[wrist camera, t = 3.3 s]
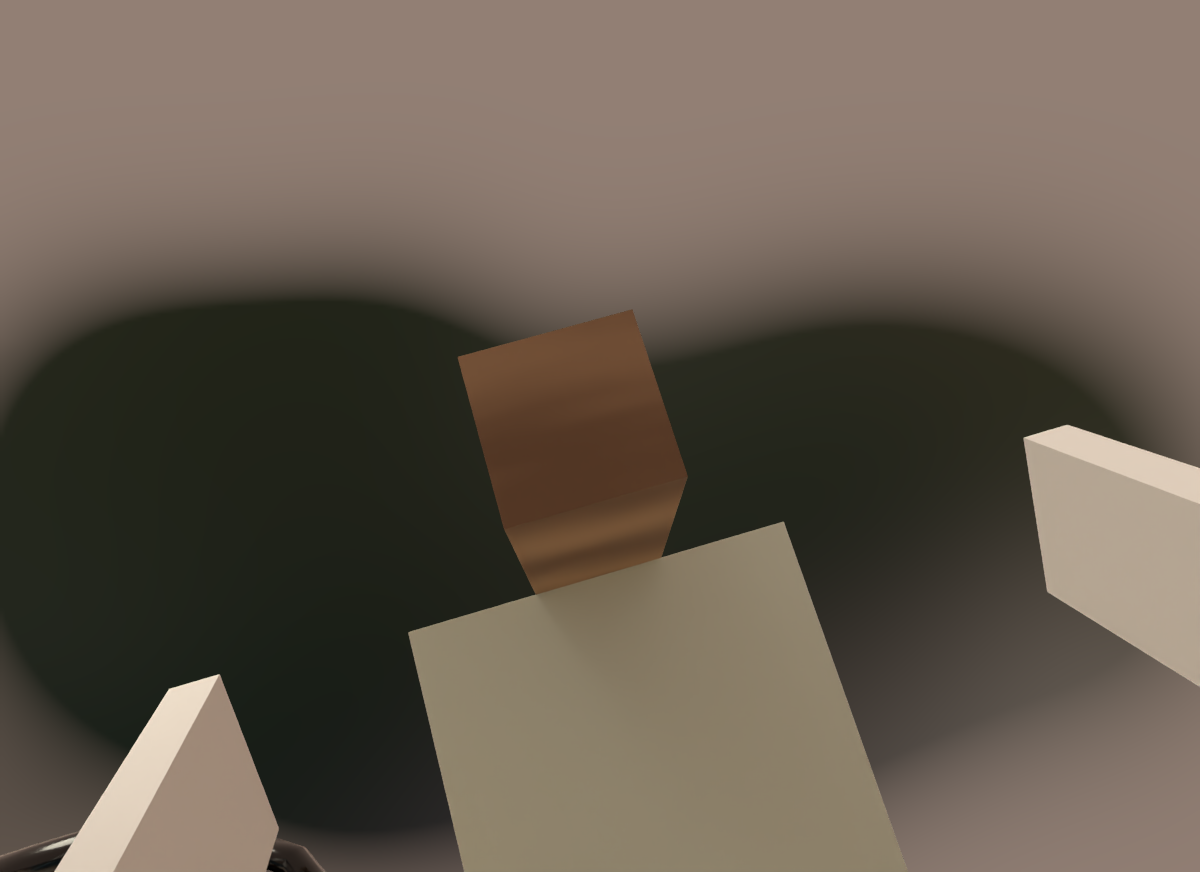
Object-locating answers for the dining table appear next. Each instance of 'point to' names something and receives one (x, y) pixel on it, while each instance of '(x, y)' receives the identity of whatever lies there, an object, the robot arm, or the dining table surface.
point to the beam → (577, 449)
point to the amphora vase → (38, 862)
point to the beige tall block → (654, 724)
